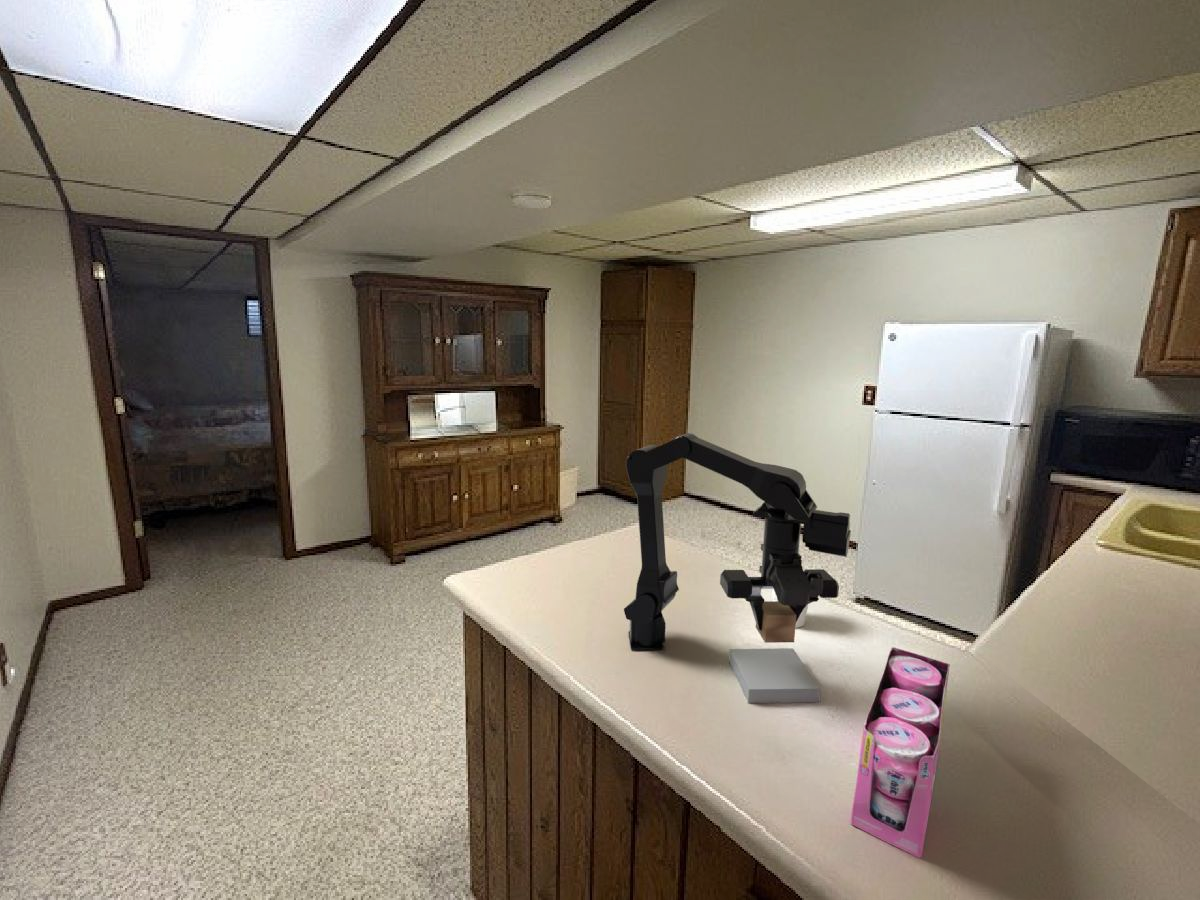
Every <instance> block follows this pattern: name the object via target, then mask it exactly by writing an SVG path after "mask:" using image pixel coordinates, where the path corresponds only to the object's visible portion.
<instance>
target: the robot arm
mask: <svg viewBox="0 0 1200 900" xmlns="http://www.w3.org/2000/svg"><path fill="white" fill-rule="evenodd" d="M681 459H685V460H687V461H689V462H692V463H694V464H696V465H698V466H701V467H703V468H705V469H707V470H710V471H711V472H714V473H717V474H719V475H721V476H723V477H725V478H728V479H729V480H732V481H735V482H736V483H739V484H741V485H743V486H745V487H746V488H747V489H749V490H750V492H752V494H754V496H756V497H757V498H758V499H760V500H761V501H763V503H762V504H761V505H760V506H758V507H757V508H756V509H755V510H754V511H753V512H752V516H753V517H756V518H762V519H763V518H764V528H763V529H764V530H763V540H762V541H763V543H761V544H760V550H761V551H762V560H761V565H759V573H760V576H749V575H748V574H747V573H746V571H745V570H744V569H724V570H723V571H722V572H721V573H720V579H719V585H720V587H722V589H723V592H724V593H725V594H726V597H727V598H730V599H744V600H745V602H748V603H749V605H750V608H751V611H752V614H753V616H754V617H753V618H754V621H755V625H756V624H757V627H758V629H759V630H762V623H763V618H762V605H763V603H764V601H766V600H765V598H764V597H763V596H762V594H761V593H762V589H763V590H764V589H771V590H772V589H774V591H775V593H776V596H777V600H778V602H779V603H780V604H782V605H789V606H790V608H791V609H792V610H793V612H794V613H795V614H796V622H797V620H798V618H799V616H800V614H801V613H802V611H803V609H804V608H805V607H806V605H807V604H808V605H809V604H812V603H814V602H818V601H819V600H820V599H819V597H820V598H821V599H827V598H828V599H837V598H838V597H839V592H840V591H839V590H840V586H839V582H838V581H837V580H836V579H835V578H834V577H833V576H832V575H831V574H830V573H828V571H826V570H825V569H821V568H819V569H818V568H817V569H809V568H808V569H803V566H802V565H803V564H802V561H803V560H802V555H801V554H800V553H799V552H800V551H799V550H800V541H802V543H803V544H804V547H806V548H808V550H809V551H811V552H818V553H822V554H828V555H835V556H840V557H844V558H847V556H848V553H849V547H850V542H851V541H850V540H851V530H850V527H851V526H850V525H851V523H850V519H851V514H850V513H848V512H847V513H846V512H833V511H827V510H826V511H825V510H821V509H820V510H818V509H817V508H818V505H817V504H816V503H815V501H814V499H813V498H812V496H811V495H810V493H809V492H808V491H807V482H806V480H805V478H804V475H803V474H802V473H801V472H800V471H798V470H796V469H793V468H789V467H785V466H781V465H776V464H769V463H762V462H757V461H754V460H751V459H749V458H747V457H744V456H742V455H740V454H738V453H735V452H733V451H731V450H728V449H726V448H723V447H721V446H719V445H716V444H714V443H712V442H710V441H707V440H705V439H703V438H700V437H698V436H697V435H695V434H694V433H692V432H691V433H690V432H688V433H684V434H681V435H678V436H676V437H675V438H674V439H672V440H670V441H668V442H666V443H663V444H661V445H655V444H650V445H647V446H643V447H642V448H641V447H640V448H638V449H635V450H633V451H632V452H630V454H629V455H628V456H627V457H626V460H625V469H626V473H627V477H628V480H629V483H630V485H631V488H632V489H633V491H634V492H635V494H636V500H637V515H638V526H639V527H638V530H639V531H638V532H639V542H640V557H641V558H640V559H641V568H640V569H641V570H640V571H639V572H640V573H639V576H638V579H637V581H636V589H635V590H636V591H635V598H634V599H633V600H632V601H631V602H630V603H629V604H627V605H626V606H625V607H624V608H623V612H624V615H625V619H626V620H628V621H629V630H628V632H627V634H628V639H629V648H630V650H631V651H660V650H664V649H665V645H664V643H665V642H666V628H667V627H666V624H667V623H666V619H665V617H664V616H663V612H662V611H664V610H665V608H666V607H667V606H668V605H669V604H670V603H672V601H673V600H674V599H675V597H676V596H677V595H676V594H677V592H678V591H680V589H679V586H678V580H677V579H678V572H677V571H678V570H677V571H676V570H675V571H674V570H670V567H669V566H668V564H667V559H666V544H665V525H664V512H663V511H664V509H663V496H662V495H663V493H662V492H663V489H664V486H665V483H666V480H667V476H668V468H669V467H668V466H669V464H671V463H674V462H676V461H678V460H681ZM802 525H803V529H802V538H801V537H800V536H801V528H802V527H801V526H802ZM800 539H802V540H800Z"/></svg>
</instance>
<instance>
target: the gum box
mask: <svg viewBox="0 0 1200 900" xmlns="http://www.w3.org/2000/svg"><path fill="white" fill-rule="evenodd" d="M950 666H951V663H947V662H943V661H940V660H937V659H933V658H931V657H927V656H924V655H921V654H918V653H914V652H911V651H908V650H904V649H901V648H897V647H894V646H893V647H891V648H890V650H889V654H888V655H887V660H886V663H885V666H884V669H883V672H882V675H881V677H880V680H879V683H878V686H877V689H876V692H875V695H874V698H873V701H872V703H871V705H870V708H869V710H868V713H867V715H866V718H865V721H864V724H863V728H862V734H861V735H862V736H861V743H860V750H859V751H860V752H859V759H858V768H857V776H856V782H855V788H854V795H853V802H852V808H851V809H852V810H851V816H850V817H851V818H850V825H852V826H854V827H856V828H858V829H860V830H862V831H864V832H867V834H870V835H872V836H874V837H875V838H878V839H879V840H882V841H883V842H885V843H887V844H889V845H892V846H894V847H896V848H898V849H900V850H902V851H904V852H907V853H908V854H910V855H912V856H914V857H916V858H918V859H921V858H922V855H923V849H924V844H925V837H926V831H927V826H928V822H929V821H928V820H929V816H930V815H929V814H930V809H931V803H932V798H933V797H932V796H933V791H934V784H935V779H936V772H937V771H936V770H937V765H938V757H939V753H940V746H941V741H942V740H941V738H942V732H943V731H942V730H943V724H944V716H945V715H944V714H945V710H946V709H945V708H946V703H947V702H946V701H947V700H946V699H947V693H948V682H949V674H950V673H949V672H950Z"/></svg>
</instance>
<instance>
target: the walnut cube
mask: <svg viewBox="0 0 1200 900" xmlns="http://www.w3.org/2000/svg"><path fill="white" fill-rule="evenodd" d="M762 618H763V623H762V630H759V629H758V627H757V624H756V623H755V629H756V630H757V632H758V634H759V636H760V637H761V639H762V640H763V642H764V643H765V644H766V643H767V644H768V643H795V637H796V636H795V635H796V628H795V626H796V614H795V613H794V612H793V610H792V609H791V608H790V606H789V605H782V604H780V603H779V602H778V601H772V600H769V601H768V600H767V601H766V600H765V601H764V603H763V605H762Z"/></svg>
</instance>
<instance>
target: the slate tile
mask: <svg viewBox="0 0 1200 900" xmlns="http://www.w3.org/2000/svg"><path fill="white" fill-rule="evenodd" d="M728 653H729V654H728V656H729V658H728V661H729V664H730V667H731V668H732V670H733V672H734V675H735V677H736V679H737V682H738V684H739V687H740V688H741V691H742V692H743V694H744V697H745V699H746V701H747V703H748V704H754V703H757V704H759V703H760V704H763V703H764V704H765V703H767V704H768V703H769V704H770V703H771V704H772V703H819V702H820V699H821V691H822V690H821V689H822V688H821V687H820V685H819V684H818V682H817V681H816V680H815V678H814V677H813V675H812V673H811V672H810V670H809V669H808V668H807V666H806V665H805V664H804V662H803V660H802V659H801V658H800V656H799V655H798V654H797V652H796V650H795V649H794V647H793V648H792V647H791V648H787V647H785V648H784V647H783V648H781V647H780V648H729V652H728Z"/></svg>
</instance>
